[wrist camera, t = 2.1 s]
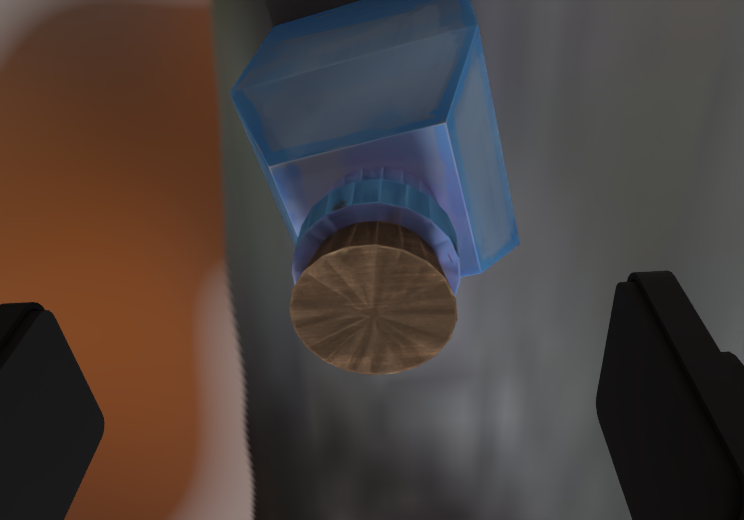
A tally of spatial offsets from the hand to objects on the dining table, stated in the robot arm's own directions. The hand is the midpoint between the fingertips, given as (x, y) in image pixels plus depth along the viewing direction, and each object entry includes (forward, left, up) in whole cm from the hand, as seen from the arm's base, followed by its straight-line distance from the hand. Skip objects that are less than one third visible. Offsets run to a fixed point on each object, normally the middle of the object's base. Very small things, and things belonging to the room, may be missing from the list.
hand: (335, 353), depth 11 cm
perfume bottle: (-1, 0, -14) cm, 14 cm away
